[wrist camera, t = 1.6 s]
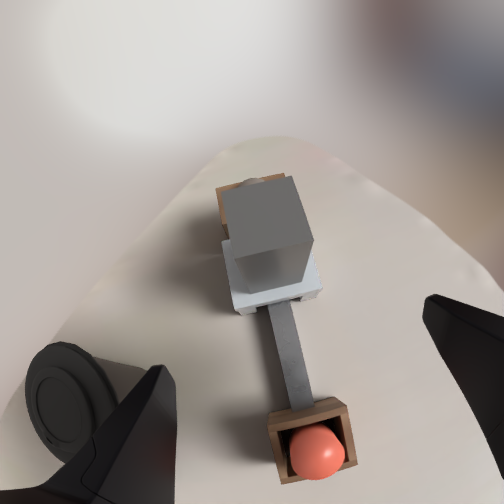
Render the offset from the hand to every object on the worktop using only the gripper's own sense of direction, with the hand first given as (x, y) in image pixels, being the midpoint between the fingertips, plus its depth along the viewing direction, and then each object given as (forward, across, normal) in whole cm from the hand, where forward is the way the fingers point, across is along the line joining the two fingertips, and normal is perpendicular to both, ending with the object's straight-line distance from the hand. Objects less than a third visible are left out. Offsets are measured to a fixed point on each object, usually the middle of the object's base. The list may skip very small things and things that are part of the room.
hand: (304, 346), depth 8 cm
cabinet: (+4, 0, +14) cm, 14 cm away
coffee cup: (+8, +13, +10) cm, 18 cm away
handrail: (+10, 0, +7) cm, 13 cm away
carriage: (+13, 0, +5) cm, 14 cm away
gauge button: (+2, 0, +12) cm, 12 cm away
